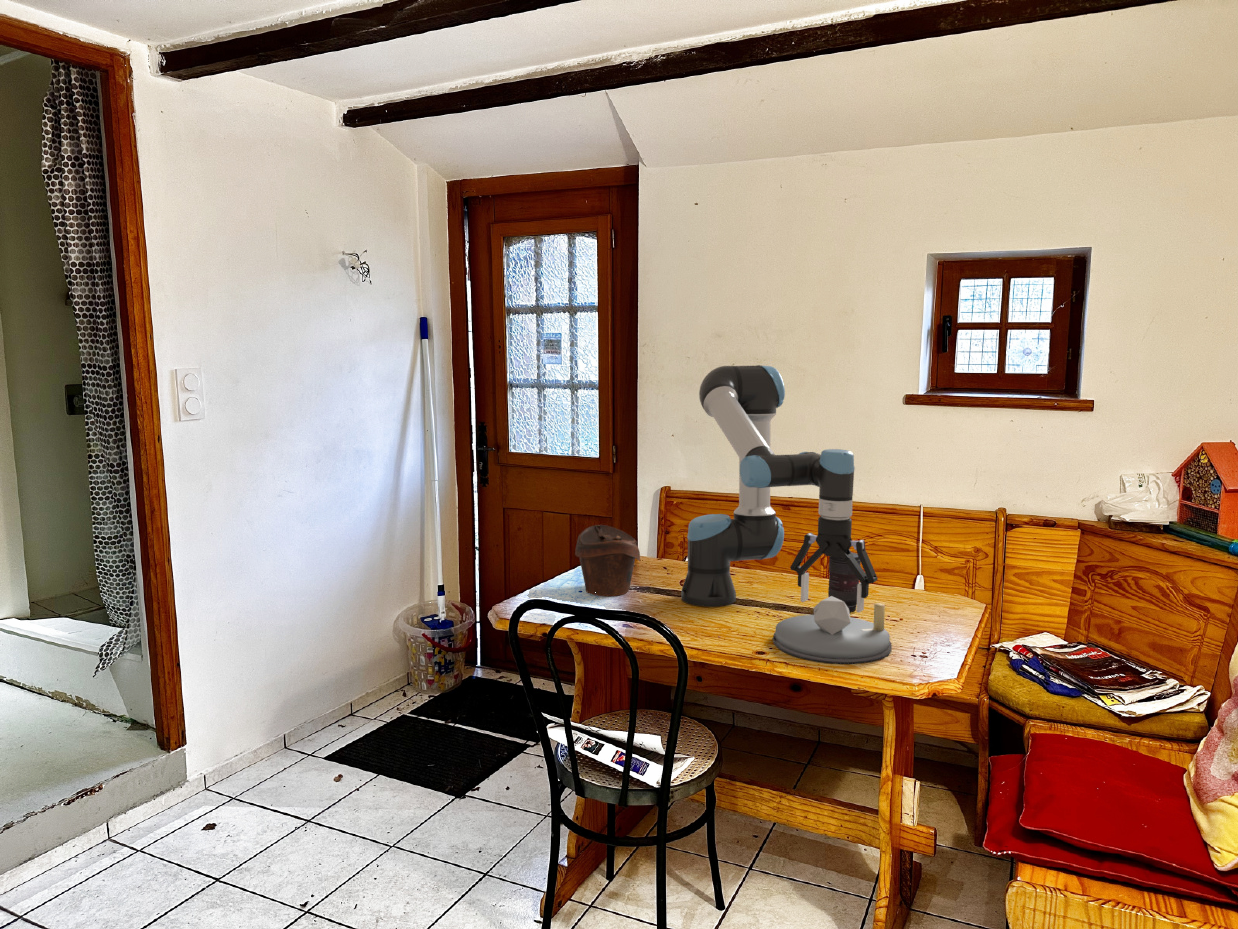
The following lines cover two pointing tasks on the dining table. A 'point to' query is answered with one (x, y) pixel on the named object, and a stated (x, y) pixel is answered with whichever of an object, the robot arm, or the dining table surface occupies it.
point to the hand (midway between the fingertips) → (831, 605)
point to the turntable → (835, 637)
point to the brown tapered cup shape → (606, 560)
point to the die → (831, 615)
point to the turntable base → (832, 660)
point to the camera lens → (843, 581)
